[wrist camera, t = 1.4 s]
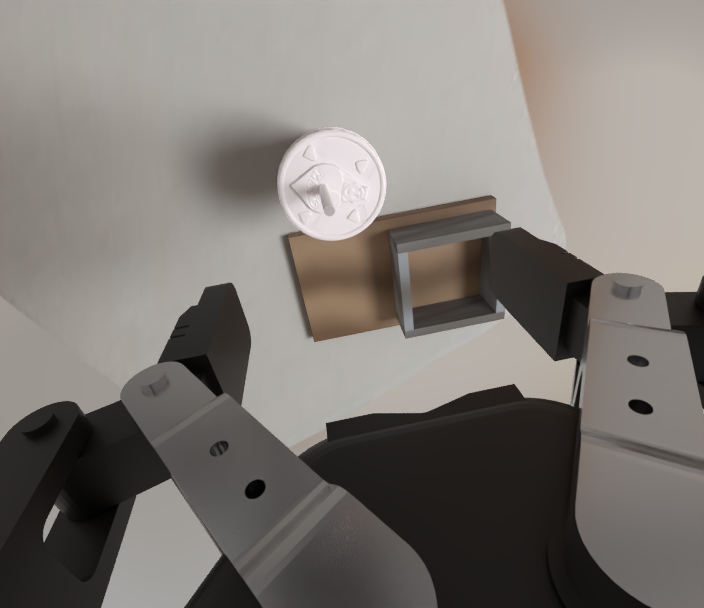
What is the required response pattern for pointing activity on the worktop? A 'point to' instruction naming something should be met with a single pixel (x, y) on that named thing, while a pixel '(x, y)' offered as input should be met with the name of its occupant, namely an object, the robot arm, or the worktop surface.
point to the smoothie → (331, 183)
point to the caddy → (403, 272)
